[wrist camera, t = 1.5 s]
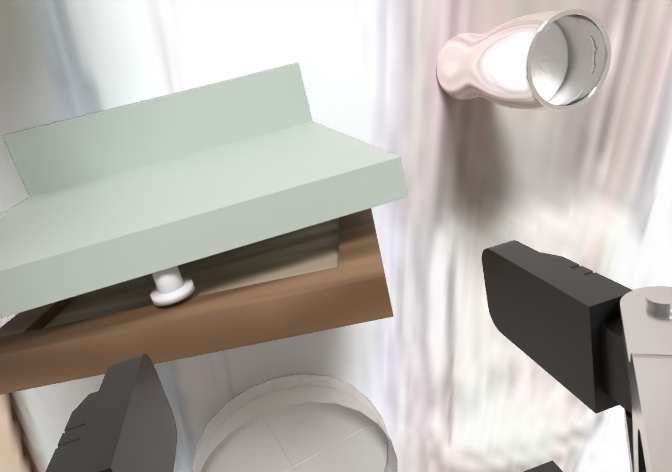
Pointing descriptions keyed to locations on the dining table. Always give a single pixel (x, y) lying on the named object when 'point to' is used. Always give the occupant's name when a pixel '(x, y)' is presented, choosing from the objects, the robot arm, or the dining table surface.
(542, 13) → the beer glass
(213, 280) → the frame
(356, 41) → the dining table surface
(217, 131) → the board
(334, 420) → the dish
